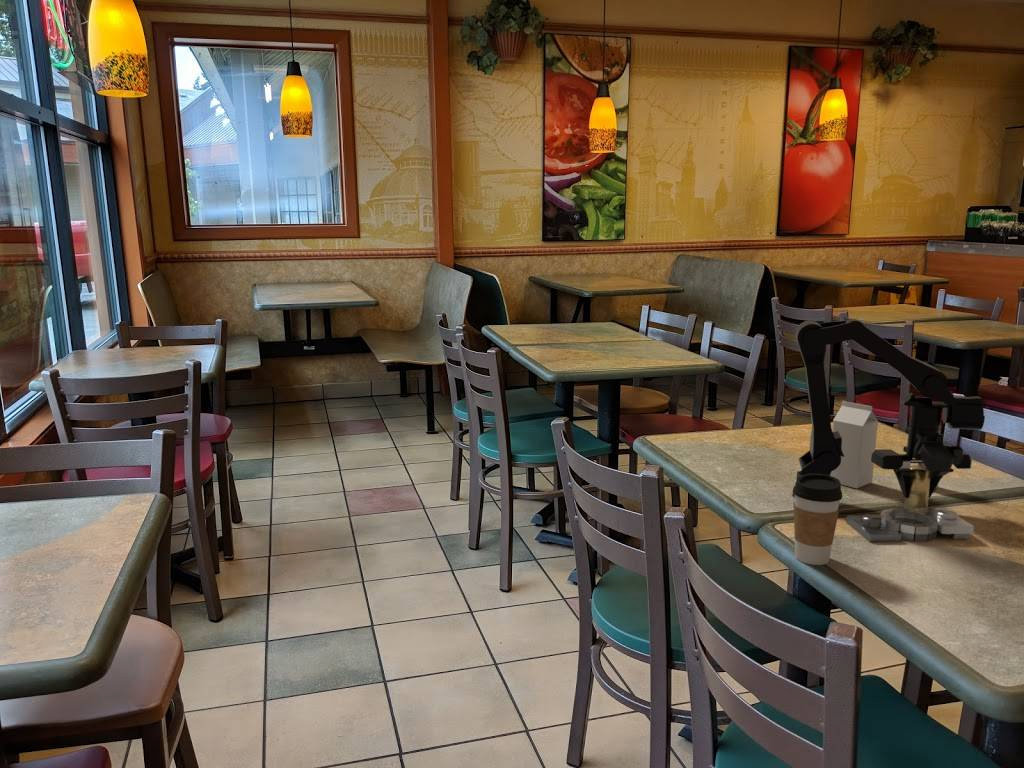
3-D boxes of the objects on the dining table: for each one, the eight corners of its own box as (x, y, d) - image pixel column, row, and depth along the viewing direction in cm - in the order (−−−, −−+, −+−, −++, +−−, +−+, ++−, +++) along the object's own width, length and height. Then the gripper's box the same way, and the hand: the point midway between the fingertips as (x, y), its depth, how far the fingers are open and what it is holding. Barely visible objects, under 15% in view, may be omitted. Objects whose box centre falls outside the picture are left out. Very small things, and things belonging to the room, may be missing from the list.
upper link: (895, 541, 153) (897, 523, 152) (870, 522, 163) (872, 504, 162) (972, 540, 153) (974, 522, 152) (943, 521, 163) (945, 503, 162)
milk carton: (857, 489, 182) (864, 408, 178) (828, 481, 188) (834, 403, 184) (872, 483, 187) (879, 404, 183) (843, 475, 192) (850, 398, 188)
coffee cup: (843, 557, 146) (850, 479, 143) (826, 572, 140) (833, 491, 136) (798, 545, 151) (804, 469, 148) (780, 559, 145) (785, 480, 142)
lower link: (869, 542, 153) (871, 527, 152) (846, 522, 162) (847, 508, 162) (946, 541, 153) (948, 526, 152) (919, 521, 163) (920, 507, 162)
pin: (910, 512, 168) (915, 471, 166) (900, 505, 172) (904, 465, 170) (931, 512, 168) (935, 471, 166) (920, 505, 172) (924, 465, 170)
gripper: (900, 437, 158) (892, 511, 161) (992, 436, 158) (982, 510, 162) (873, 423, 169) (866, 493, 172) (959, 422, 169) (951, 492, 173)
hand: (916, 497), depth 169 cm, fingers closed on pin, 4 cm apart
